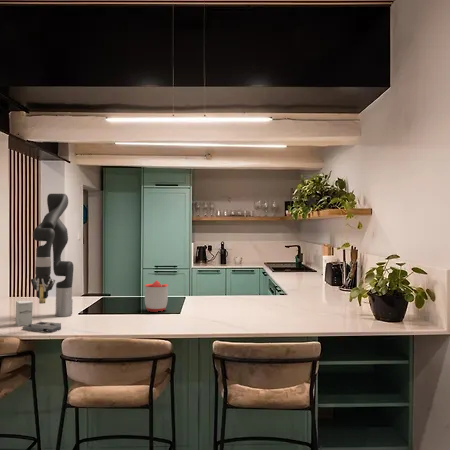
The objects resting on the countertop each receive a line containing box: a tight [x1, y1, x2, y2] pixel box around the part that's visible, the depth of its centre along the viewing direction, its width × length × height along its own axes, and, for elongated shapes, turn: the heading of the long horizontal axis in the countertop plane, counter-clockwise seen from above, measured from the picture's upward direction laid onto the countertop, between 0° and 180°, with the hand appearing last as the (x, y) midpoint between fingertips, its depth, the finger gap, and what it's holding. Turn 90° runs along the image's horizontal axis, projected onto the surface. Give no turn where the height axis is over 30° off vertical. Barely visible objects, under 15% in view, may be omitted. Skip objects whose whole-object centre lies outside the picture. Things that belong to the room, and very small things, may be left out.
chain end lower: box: [21, 324, 47, 332], centre depth 222 cm, size 7×13×2 cm, turn 76°
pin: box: [38, 284, 46, 304], centre depth 221 cm, size 4×4×10 cm
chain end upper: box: [31, 321, 62, 333], centre depth 221 cm, size 7×13×4 cm, turn 76°
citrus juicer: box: [144, 280, 169, 313], centre depth 277 cm, size 16×17×20 cm
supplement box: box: [15, 300, 34, 327], centre depth 232 cm, size 7×7×13 cm
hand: (42, 298), depth 221 cm, fingers closed on pin, 3 cm apart
